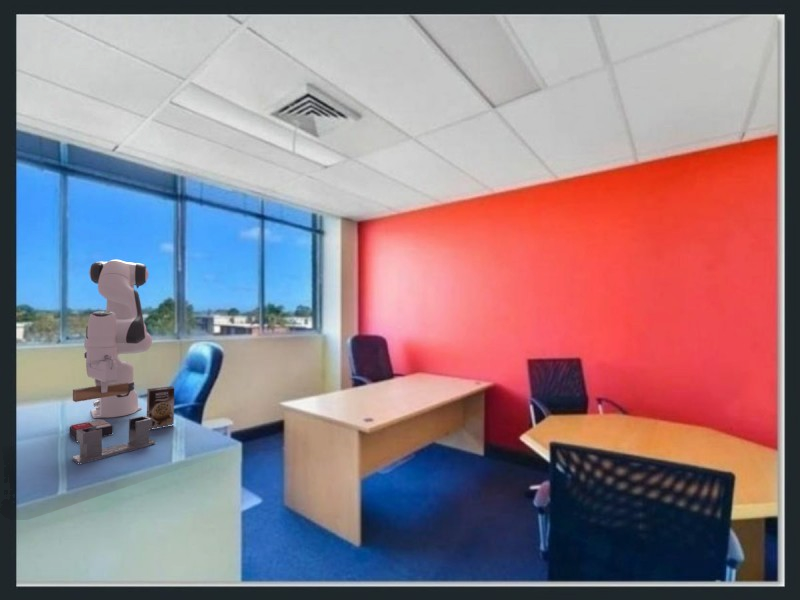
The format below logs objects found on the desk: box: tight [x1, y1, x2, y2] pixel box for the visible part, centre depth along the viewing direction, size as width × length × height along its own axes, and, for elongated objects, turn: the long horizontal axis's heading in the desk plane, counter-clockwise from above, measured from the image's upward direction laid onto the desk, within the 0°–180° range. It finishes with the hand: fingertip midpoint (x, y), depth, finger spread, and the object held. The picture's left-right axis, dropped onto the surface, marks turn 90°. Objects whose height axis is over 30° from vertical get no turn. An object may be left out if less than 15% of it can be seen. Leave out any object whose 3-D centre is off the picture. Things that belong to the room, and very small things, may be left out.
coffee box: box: [146, 386, 175, 429], centre depth 158 cm, size 9×6×16 cm
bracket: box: [71, 415, 156, 465], centre depth 131 cm, size 7×22×10 cm, turn 145°
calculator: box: [69, 419, 114, 442], centre depth 149 cm, size 11×4×15 cm
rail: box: [72, 382, 128, 403], centre depth 140 cm, size 3×16×4 cm, turn 145°
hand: (101, 391), depth 140 cm, fingers closed on rail, 3 cm apart
